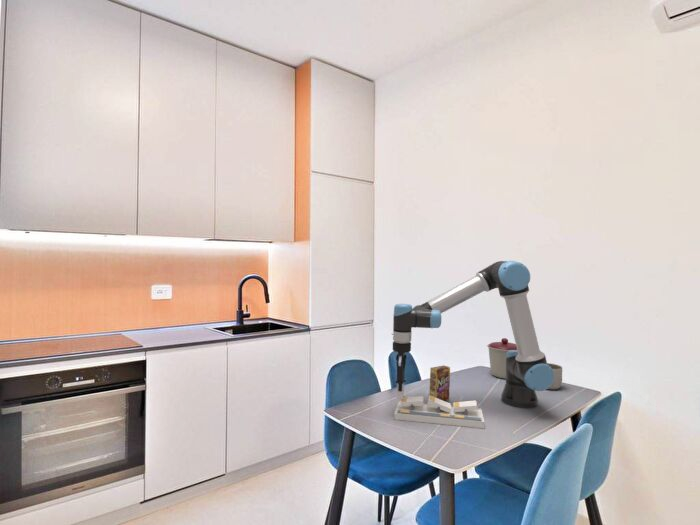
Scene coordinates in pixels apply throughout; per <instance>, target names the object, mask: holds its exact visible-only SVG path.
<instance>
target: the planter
mask: <svg viewBox="0 0 700 525" xmlns="http://www.w3.org/2000/svg"><path fill="white" fill-rule="evenodd" d="M547 365H549V366H550V367H551V368H552V369H553V371H554V375H555V378H554V382H553V383H552V385H551V386H550V387H549V388H548V389H547V390H550V391H551V390H555V391H556V390H558V389H560V388H561V386H562V382H563V366H561V365H559V364H556V363H555V364H554V363H549V362H547Z"/></svg>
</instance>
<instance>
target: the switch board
mask: <svg viewBox="0 0 700 525" xmlns="http://www.w3.org/2000/svg"><path fill="white" fill-rule="evenodd" d="M393 417H394V419H393V420H395V421H396V420H397V421H408V422H415V423H416V422H417V423H423V424H424V423H426V424H434V425H435V424H436V425H447V426H455V427H463V428H464V427H465V428H474V429H475V428H477V429H485V419H484V415H483V411H482V408H478V410H473V411H467V412H465V411H461V412H454V405H451V410H450V413H448V412H446V411H443V410H441V409H437V408H436V407H434V406H431V405H429V404H428V403H424V405H423V406H413V407H411V406H405V407H401V401H398V403H397V406H396V408H395V410H394V416H393Z"/></svg>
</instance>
